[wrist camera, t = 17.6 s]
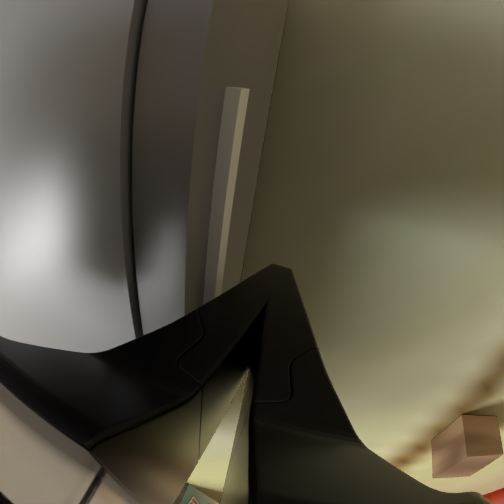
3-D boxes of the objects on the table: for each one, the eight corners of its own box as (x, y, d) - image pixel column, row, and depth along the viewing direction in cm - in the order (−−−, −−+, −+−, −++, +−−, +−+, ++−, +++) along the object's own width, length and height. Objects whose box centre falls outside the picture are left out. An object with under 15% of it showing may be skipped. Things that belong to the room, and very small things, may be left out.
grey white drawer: (232, 364, 16) (194, 453, 11) (7, 265, 19) (-40, 305, 14) (299, -12, 7) (256, -103, 2) (-16, 42, 10) (-86, 59, 5)
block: (466, 441, 17) (469, 476, 14) (431, 440, 17) (432, 478, 14) (496, 416, 15) (503, 454, 12) (461, 414, 15) (466, 456, 12)
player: (207, 351, 17) (160, 445, 12) (1, 258, 20) (-49, 299, 14) (256, -17, 7) (163, -103, 2) (-21, 44, 10) (-94, 63, 5)
